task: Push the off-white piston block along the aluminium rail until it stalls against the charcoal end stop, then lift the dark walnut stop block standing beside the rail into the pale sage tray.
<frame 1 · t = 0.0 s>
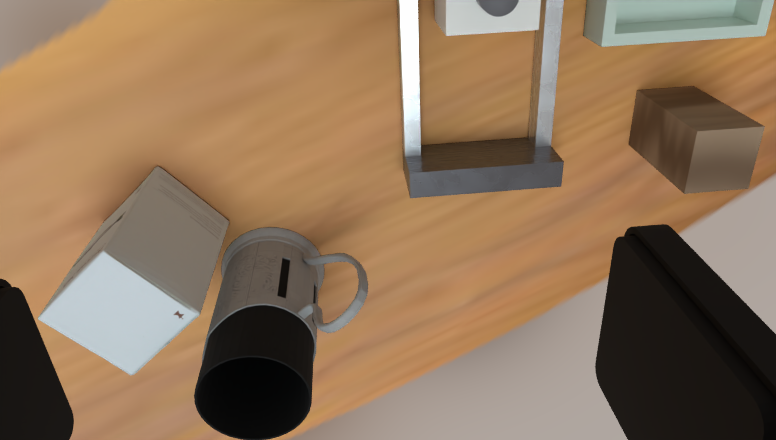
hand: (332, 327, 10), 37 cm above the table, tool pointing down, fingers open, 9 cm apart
piston rail: (475, 38, 44), on the table
stop block: (660, 115, 49), on the table
supplement box: (167, 220, 50), on the table
glass holder: (296, 251, 52), on the table
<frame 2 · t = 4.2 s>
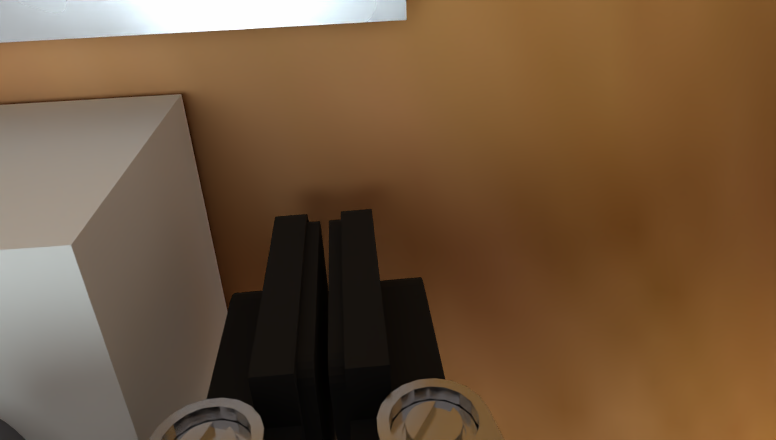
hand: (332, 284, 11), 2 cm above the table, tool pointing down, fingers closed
piston block: (3, 368, 9), point 3 cm above the table, slide at -3.7 cm, touching gripper
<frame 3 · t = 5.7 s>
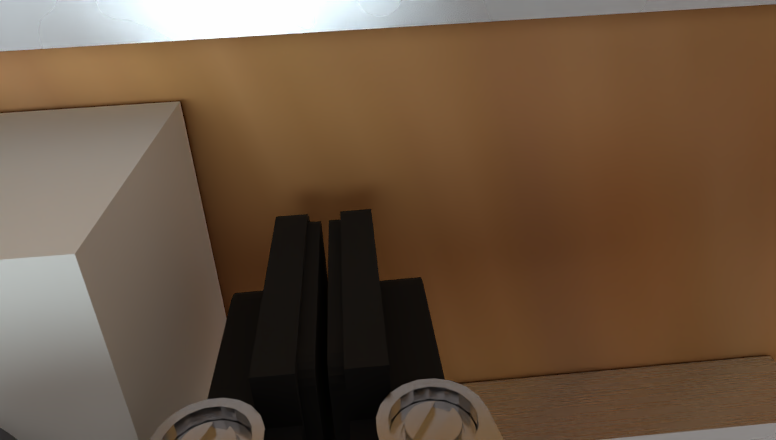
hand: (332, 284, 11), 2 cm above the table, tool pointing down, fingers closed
piston rail: (350, 232, 12), on the table
piston block: (3, 377, 9), point 4 cm above the table, slide at 5.2 cm, touching gripper
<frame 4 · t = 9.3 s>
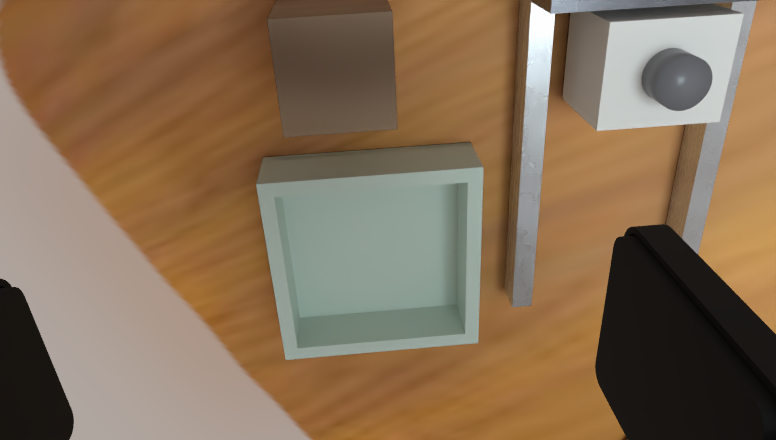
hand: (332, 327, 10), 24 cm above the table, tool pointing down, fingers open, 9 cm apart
piston rail: (608, 136, 35), on the table
stop block: (335, 27, 31), on the table
piston block: (650, 64, 29), point 3 cm above the table, slide at 5.0 cm
tray: (373, 238, 37), on the table
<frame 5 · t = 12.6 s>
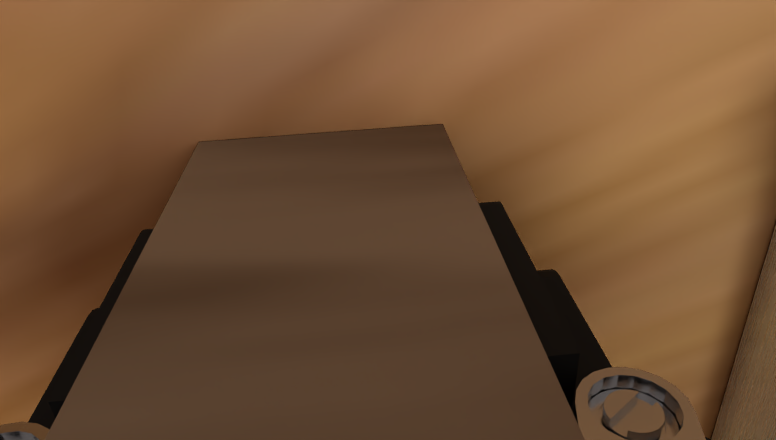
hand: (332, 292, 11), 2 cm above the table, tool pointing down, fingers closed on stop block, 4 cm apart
stop block: (332, 237, 12), on the table, touching gripper
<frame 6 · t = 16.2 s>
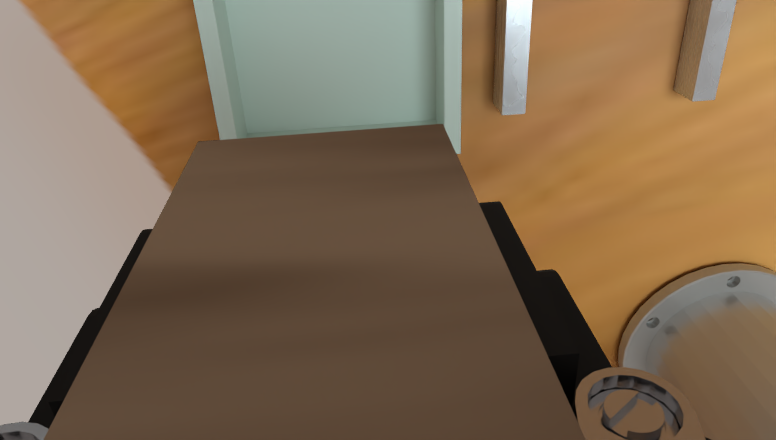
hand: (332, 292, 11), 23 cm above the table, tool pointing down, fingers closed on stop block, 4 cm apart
stop block: (332, 237, 12), point 21 cm above the table, touching gripper
tray: (333, 27, 30), on the table
when the fingers open (4 cm above the table, at t = 19.8 s): stop block drops 2 cm, resting on tray.
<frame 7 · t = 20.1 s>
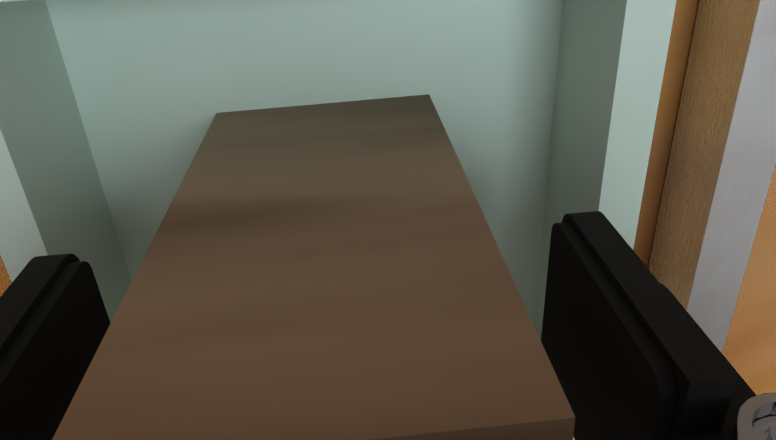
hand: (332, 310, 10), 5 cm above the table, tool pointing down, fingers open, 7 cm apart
stop block: (334, 198, 14), point 1 cm above the table, touching tray
tray: (332, 185, 15), on the table
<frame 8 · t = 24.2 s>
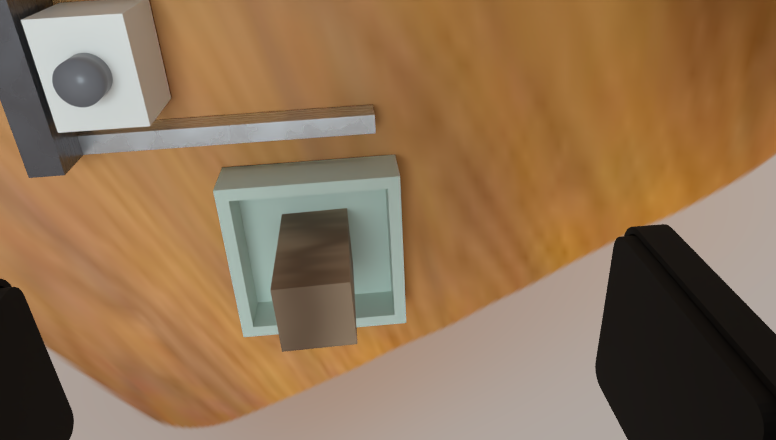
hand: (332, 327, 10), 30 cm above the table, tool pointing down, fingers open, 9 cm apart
piston rail: (203, 46, 37), on the table
stop block: (318, 238, 43), point 1 cm above the table, touching tray
piston block: (99, 67, 34), point 3 cm above the table, slide at 5.0 cm
tray: (318, 235, 44), on the table
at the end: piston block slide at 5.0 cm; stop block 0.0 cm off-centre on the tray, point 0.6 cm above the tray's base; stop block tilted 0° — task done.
